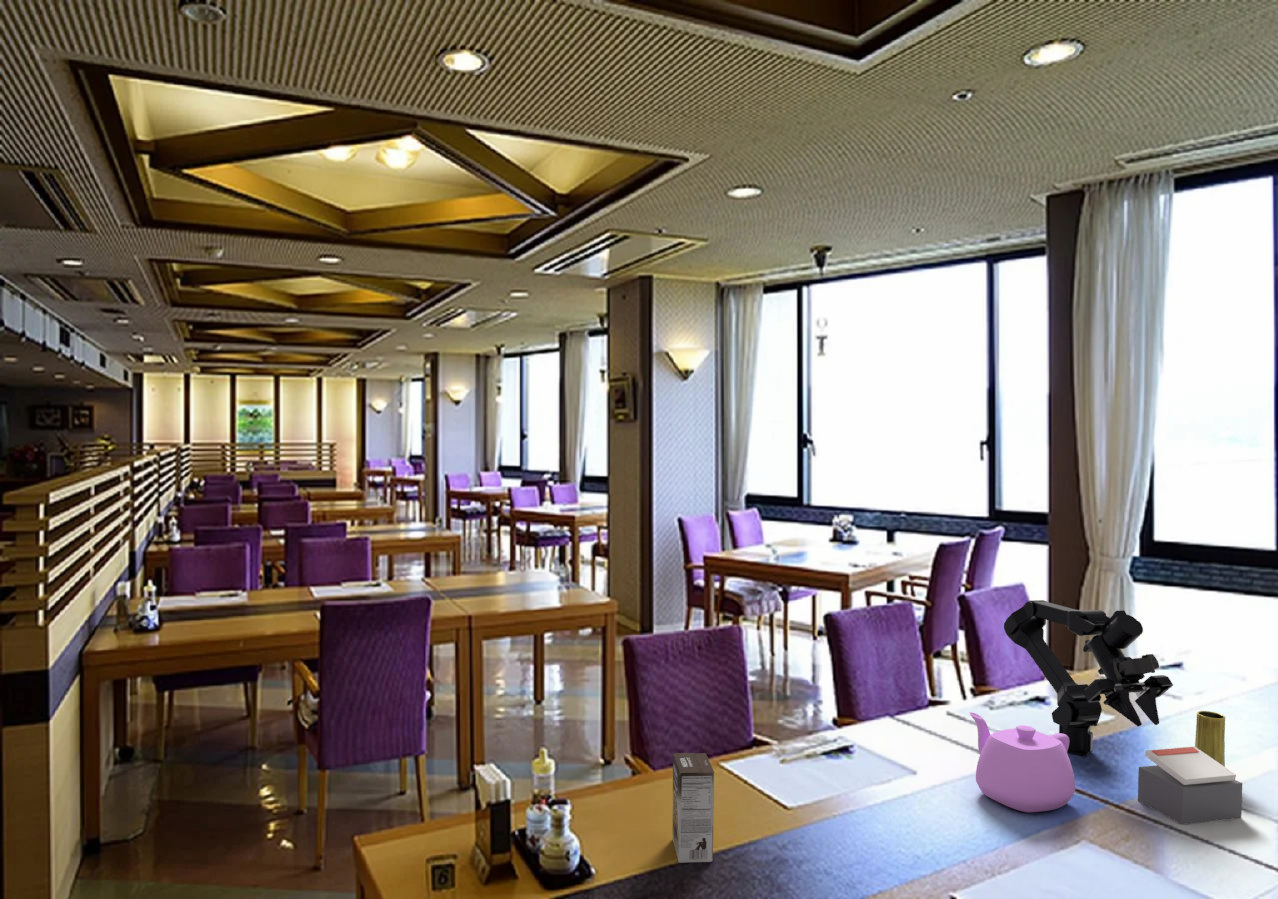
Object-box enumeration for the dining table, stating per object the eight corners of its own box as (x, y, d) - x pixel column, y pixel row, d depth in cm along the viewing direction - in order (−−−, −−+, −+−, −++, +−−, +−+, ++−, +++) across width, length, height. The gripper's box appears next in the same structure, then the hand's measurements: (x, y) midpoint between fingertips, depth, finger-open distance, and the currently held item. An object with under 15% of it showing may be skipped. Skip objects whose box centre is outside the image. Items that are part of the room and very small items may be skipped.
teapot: (1101, 805, 177) (1103, 731, 177) (1028, 824, 168) (1030, 747, 167) (1009, 765, 198) (1010, 699, 197) (940, 780, 188) (941, 712, 188)
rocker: (1144, 755, 179) (1146, 749, 178) (1193, 751, 181) (1195, 745, 181) (1184, 785, 169) (1185, 778, 169) (1234, 780, 172) (1236, 773, 171)
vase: (1231, 785, 187) (1233, 720, 187) (1199, 783, 188) (1201, 718, 188) (1218, 774, 193) (1220, 711, 193) (1187, 772, 194) (1189, 709, 194)
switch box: (1137, 800, 179) (1138, 767, 179) (1194, 795, 182) (1195, 762, 182) (1181, 824, 168) (1182, 788, 168) (1241, 818, 172) (1242, 783, 171)
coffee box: (671, 839, 160) (672, 752, 160) (705, 837, 161) (706, 751, 160) (677, 863, 151) (678, 772, 151) (713, 862, 152) (715, 771, 151)
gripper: (1094, 642, 188) (1132, 709, 178) (1167, 639, 192) (1208, 704, 182) (1068, 668, 196) (1103, 734, 185) (1138, 664, 200) (1176, 728, 190)
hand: (1148, 725), depth 185 cm, fingers open, 4 cm apart
